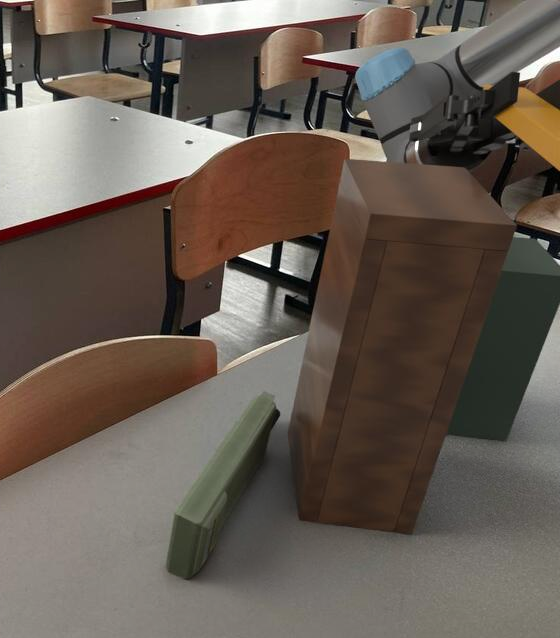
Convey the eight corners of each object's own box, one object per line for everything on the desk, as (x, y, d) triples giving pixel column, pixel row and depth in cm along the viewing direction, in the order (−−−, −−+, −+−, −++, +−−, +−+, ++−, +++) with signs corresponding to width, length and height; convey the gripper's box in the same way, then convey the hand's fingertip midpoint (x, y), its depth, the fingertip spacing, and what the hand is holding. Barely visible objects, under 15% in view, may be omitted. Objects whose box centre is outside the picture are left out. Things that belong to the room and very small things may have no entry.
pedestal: (480, 392, 88) (535, 238, 78) (506, 441, 80) (570, 276, 71) (391, 383, 89) (435, 230, 80) (408, 430, 82) (458, 266, 72)
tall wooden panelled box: (384, 444, 79) (465, 167, 64) (412, 534, 68) (517, 225, 53) (287, 432, 81) (344, 158, 66) (299, 519, 69) (370, 213, 55)
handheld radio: (158, 567, 64) (257, 416, 83) (194, 584, 63) (286, 427, 82) (168, 510, 61) (269, 365, 79) (206, 527, 59) (299, 376, 78)
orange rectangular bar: (518, 107, 79) (525, 87, 78) (614, 176, 60) (624, 152, 59) (478, 104, 79) (484, 84, 78) (560, 172, 60) (569, 147, 59)
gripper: (518, 184, 92) (637, 136, 68) (373, 172, 94) (440, 122, 70) (525, 122, 92) (645, 53, 68) (379, 112, 94) (448, 42, 70)
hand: (541, 88), depth 70 cm, fingers closed on orange rectangular bar, 4 cm apart
